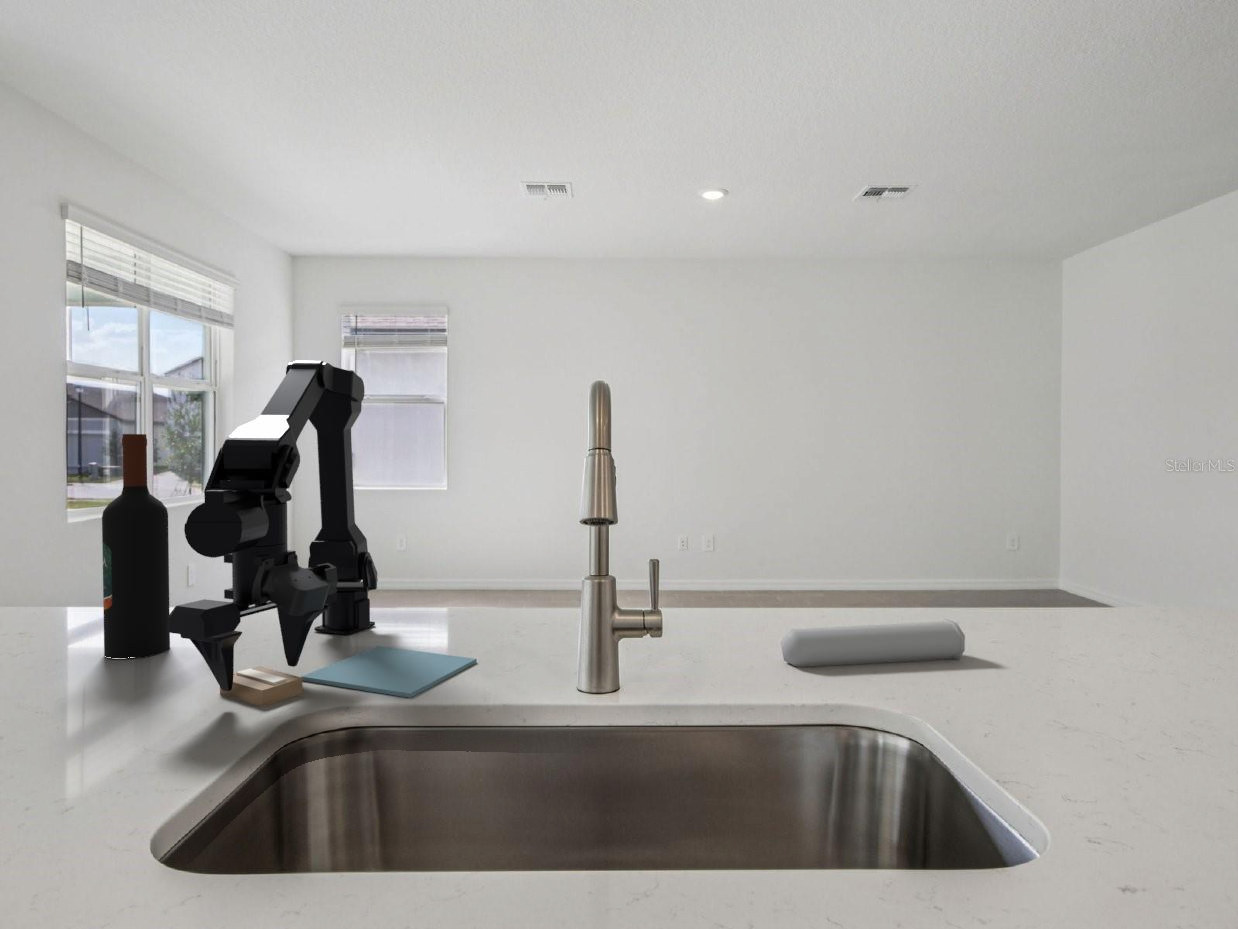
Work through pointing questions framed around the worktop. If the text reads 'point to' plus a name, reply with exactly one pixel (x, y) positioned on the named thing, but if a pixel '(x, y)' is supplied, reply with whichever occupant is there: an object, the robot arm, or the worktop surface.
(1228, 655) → the worktop surface
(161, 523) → the wine bottle
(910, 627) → the tube
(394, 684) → the mat
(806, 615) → the worktop surface
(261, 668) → the brown cardboard box
